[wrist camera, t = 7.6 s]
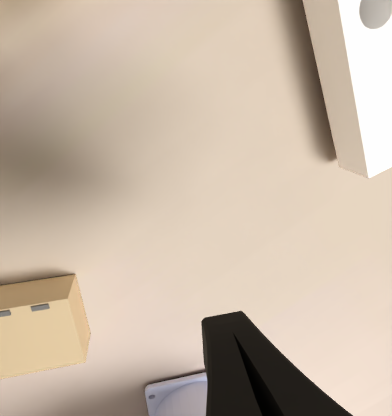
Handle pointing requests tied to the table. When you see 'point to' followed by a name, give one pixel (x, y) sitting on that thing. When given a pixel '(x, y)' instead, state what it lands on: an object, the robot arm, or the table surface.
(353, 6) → the bracket
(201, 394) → the robot arm
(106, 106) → the table surface
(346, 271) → the table surface
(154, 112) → the table surface
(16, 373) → the cream usb hub
